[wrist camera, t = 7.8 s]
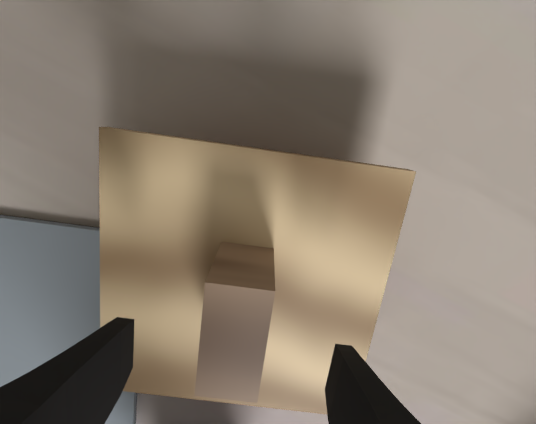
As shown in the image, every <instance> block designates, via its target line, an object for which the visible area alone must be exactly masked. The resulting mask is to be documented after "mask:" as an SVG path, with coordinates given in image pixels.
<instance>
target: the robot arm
mask: <svg viewBox="0 0 536 424" xmlns="http://www.w3.org/2000/svg"><path fill="white" fill-rule="evenodd" d="M133 352H134V319H129V318H121V317H116V318H115V319H113V320H112V321H110V322H108V323H107V324H105V325H104V326H102V327H101V328H99V329H98V330H96V331H95V332H93V333H92V334H90V335H89V336H87V337H86V338H84V339H82V340H81V341H79V342H78V343H76V344H75V345H73V346H72V347H70V348H68V349H67V350H65V351H64V352H62V353H60V354H59V355H57V356H55V357H54V358H52V359H50V360H48V361H47V362H45V363H43V364H42V365H40V366H38V367H37V368H35V369H33V370H31V371H30V372H28V373H26V374H24V375H22V376H21V377H19V378H17V379H15V380H13V381H11V382H9V383H7V384H5V385H3V386H1V387H0V424H105V422H106V420H107V419H108V417H109V415H110V413H111V412H112V410H113V408H114V406H115V405H116V403H117V401H118V399H119V398H120V396H121V394H122V391H123V389H124V387H125V385H126V383H127V380H128V378H129V376H130V373H131V371H132V368H133ZM325 397H326V407H327V414H328V421H329V424H421V423H420V422H419V421H418V420H417V419H416V418H415V417H414V416H413V415H412V414H411V413H410V412H409V411H408V410H407V409H406V408H405V407H404V406H403V405H402V404H401V402H400V401H399V400H398V399H397V398H396V397H395V396H394V395H393V394H392V393H391V391H390V390H389V389H388V388H387V387H386V386H385V385H384V383H383V382H382V381H381V380H380V379H379V378H378V376H377V375H376V374H375V373H374V372H373V370H372V369H371V368H370V367H369V366H368V364H367V363H366V362H365V361H364V359H363V358H362V357H361V356H360V355H359V353H358V352H357V351H356V350H355V349H354V347H353V346H351V345H342V344H335V347H334V351H333V356H332V360H331V364H330V369H329V373H328V377H327V382H326V386H325Z"/></svg>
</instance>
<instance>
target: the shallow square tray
mask: <svg viewBox="0 0 536 424" xmlns="http://www.w3.org/2000/svg"><path fill="white" fill-rule="evenodd" d="M99 328H100V228H96V227H89V226H81V225H73V224H66V223H58V222H51V221H43V220H36V219H28V218H21V217H13V216H5V215H0V387H1V386H3V385H5V384H7V383H9V382H11V381H13V380H15V379H17V378H19V377H21V376H22V375H24V374H26V373H28V372H30V371H31V370H33V369H35V368H37V367H38V366H40V365H42V364H43V363H45V362H47V361H48V360H50V359H52V358H54V357H55V356H57V355H59V354H60V353H62V352H64V351H65V350H67V349H68V348H70V347H72V346H73V345H75V344H76V343H78V342H79V341H81V340H82V339H84V338H86V337H87V336H89V335H90V334H92V333H93V332H95V331H96V330H98V329H99ZM136 402H137V393H135V392H126V391H122V394H121V396H120V398H119V399H118V401H117V403H116V405H115V406H114V408H113V410H112V412H111V413H110V415H109V417H108V419H107V420H106V422H105V424H136Z"/></svg>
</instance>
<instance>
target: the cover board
mask: <svg viewBox="0 0 536 424" xmlns="http://www.w3.org/2000/svg"><path fill="white" fill-rule="evenodd" d="M415 174H416V172H415V171H412V170H409V169H402V168H395V167H388V166H381V165H374V164H367V163H360V162H353V161H346V160H339V159H332V158H324V157H317V156H310V155H303V154H296V153H289V152H282V151H275V150H268V149H261V148H254V147H247V146H239V145H232V144H225V143H218V142H211V141H204V140H197V139H190V138H183V137H176V136H169V135H162V134H154V133H147V132H140V131H133V130H126V129H119V128H112V127H99V206H100V328H101V327H102V326H104V325H105V324H107V323H108V322H110V321H112V320H113V319H115V318H116V317H121V318H129V319H134V352H133V368H132V371H131V373H130V376H129V378H128V380H127V383H126V385H125V387H124V389H123V391H126V392H135V393H143V394H152V395H161V396H170V397H179V398H187V399H196V400H205V401H214V402H222V403H231V404H240V405H249V406H257V407H266V408H275V409H284V410H293V411H301V412H310V413H319V414H327V407H326V397H325V386H326V382H327V377H328V373H329V369H330V364H331V360H332V356H333V351H334V347H335V344H342V345H351V346H353V347H354V349H355V350H356V351H357V352H358V353H359V355H360V356H361V357H362V358H363V359H364V361H365V362H366V358H367V354H368V351H369V347H370V343H371V339H372V336H373V332H374V328H375V324H376V321H377V317H378V313H379V309H380V306H381V302H382V298H383V294H384V290H385V287H386V283H387V279H388V275H389V272H390V268H391V264H392V260H393V257H394V253H395V249H396V245H397V242H398V238H399V234H400V230H401V227H402V223H403V219H404V215H405V212H406V208H407V204H408V200H409V196H410V193H411V189H412V185H413V181H414V178H415Z"/></svg>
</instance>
